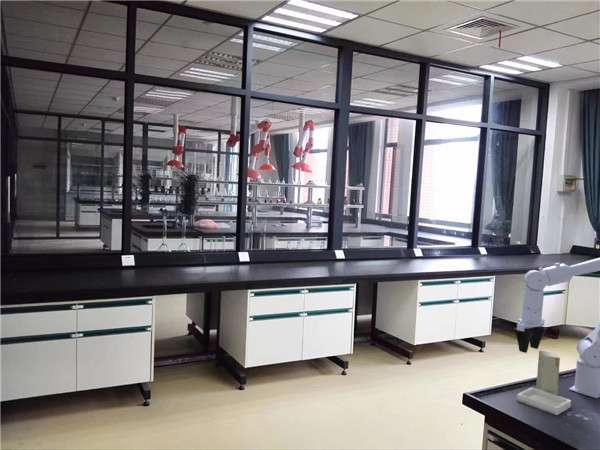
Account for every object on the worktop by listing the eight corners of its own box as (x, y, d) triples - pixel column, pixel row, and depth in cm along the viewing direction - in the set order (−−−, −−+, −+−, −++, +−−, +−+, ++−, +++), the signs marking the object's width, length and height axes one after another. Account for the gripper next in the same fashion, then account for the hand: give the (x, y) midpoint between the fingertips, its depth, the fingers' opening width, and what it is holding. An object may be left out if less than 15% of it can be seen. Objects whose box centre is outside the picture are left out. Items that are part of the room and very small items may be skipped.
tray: (531, 393, 149) (531, 387, 149) (570, 407, 140) (571, 400, 140) (516, 400, 143) (517, 394, 143) (557, 415, 134) (557, 408, 134)
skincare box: (557, 398, 146) (561, 358, 145) (541, 396, 147) (545, 356, 146) (550, 390, 153) (553, 351, 152) (535, 388, 153) (538, 350, 153)
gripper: (530, 303, 165) (526, 343, 166) (509, 307, 155) (505, 349, 156) (552, 307, 159) (548, 348, 160) (531, 312, 150) (527, 356, 151)
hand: (528, 349), depth 158 cm, fingers open, 7 cm apart
